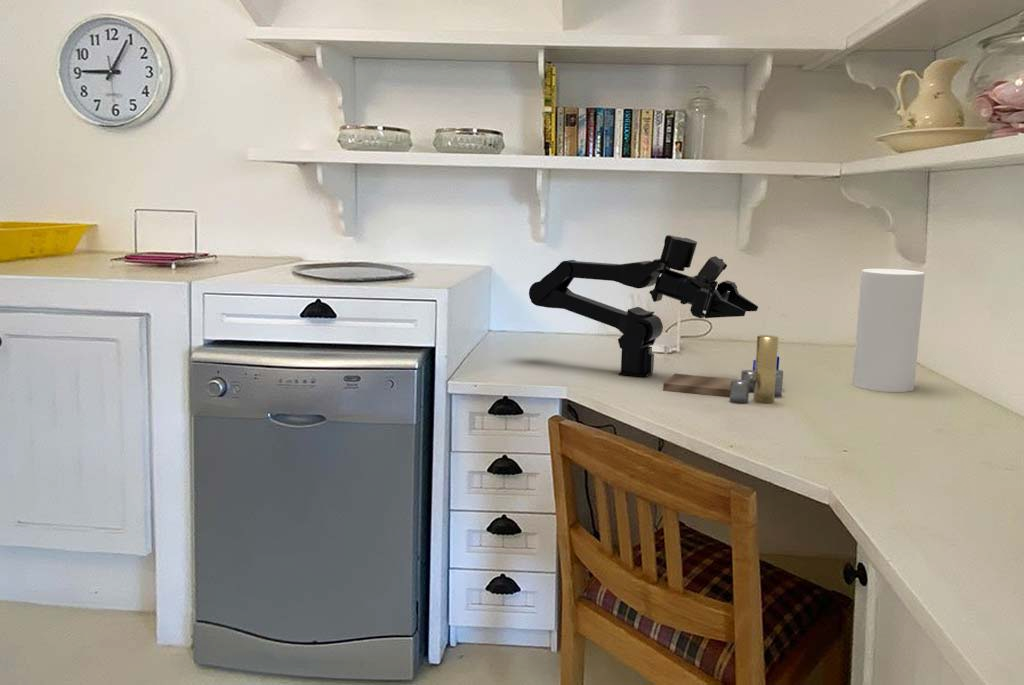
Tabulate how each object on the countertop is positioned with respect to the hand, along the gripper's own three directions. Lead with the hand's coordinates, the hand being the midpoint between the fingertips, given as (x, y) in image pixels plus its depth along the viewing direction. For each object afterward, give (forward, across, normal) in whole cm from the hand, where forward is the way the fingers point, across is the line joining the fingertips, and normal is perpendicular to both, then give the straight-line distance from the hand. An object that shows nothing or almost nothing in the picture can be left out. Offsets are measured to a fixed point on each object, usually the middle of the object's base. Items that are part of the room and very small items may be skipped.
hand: (751, 311), depth 193 cm
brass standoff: (+10, -10, +14) cm, 20 cm away
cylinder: (+28, +19, +10) cm, 35 cm away
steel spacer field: (+8, -6, +15) cm, 18 cm away
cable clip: (+4, +13, +16) cm, 21 cm away
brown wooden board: (-4, -6, +18) cm, 19 cm away
